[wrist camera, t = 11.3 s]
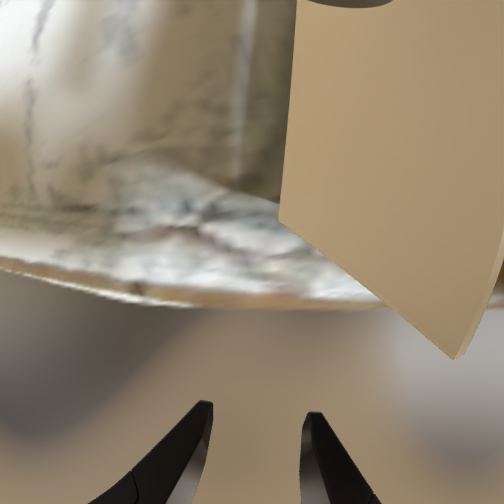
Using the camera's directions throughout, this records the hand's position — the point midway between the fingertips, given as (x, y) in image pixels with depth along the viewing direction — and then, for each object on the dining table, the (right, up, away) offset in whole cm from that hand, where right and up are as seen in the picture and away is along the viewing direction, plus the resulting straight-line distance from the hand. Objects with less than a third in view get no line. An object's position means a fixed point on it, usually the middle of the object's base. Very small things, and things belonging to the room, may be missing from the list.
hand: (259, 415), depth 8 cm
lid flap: (+4, +14, -2) cm, 14 cm away
